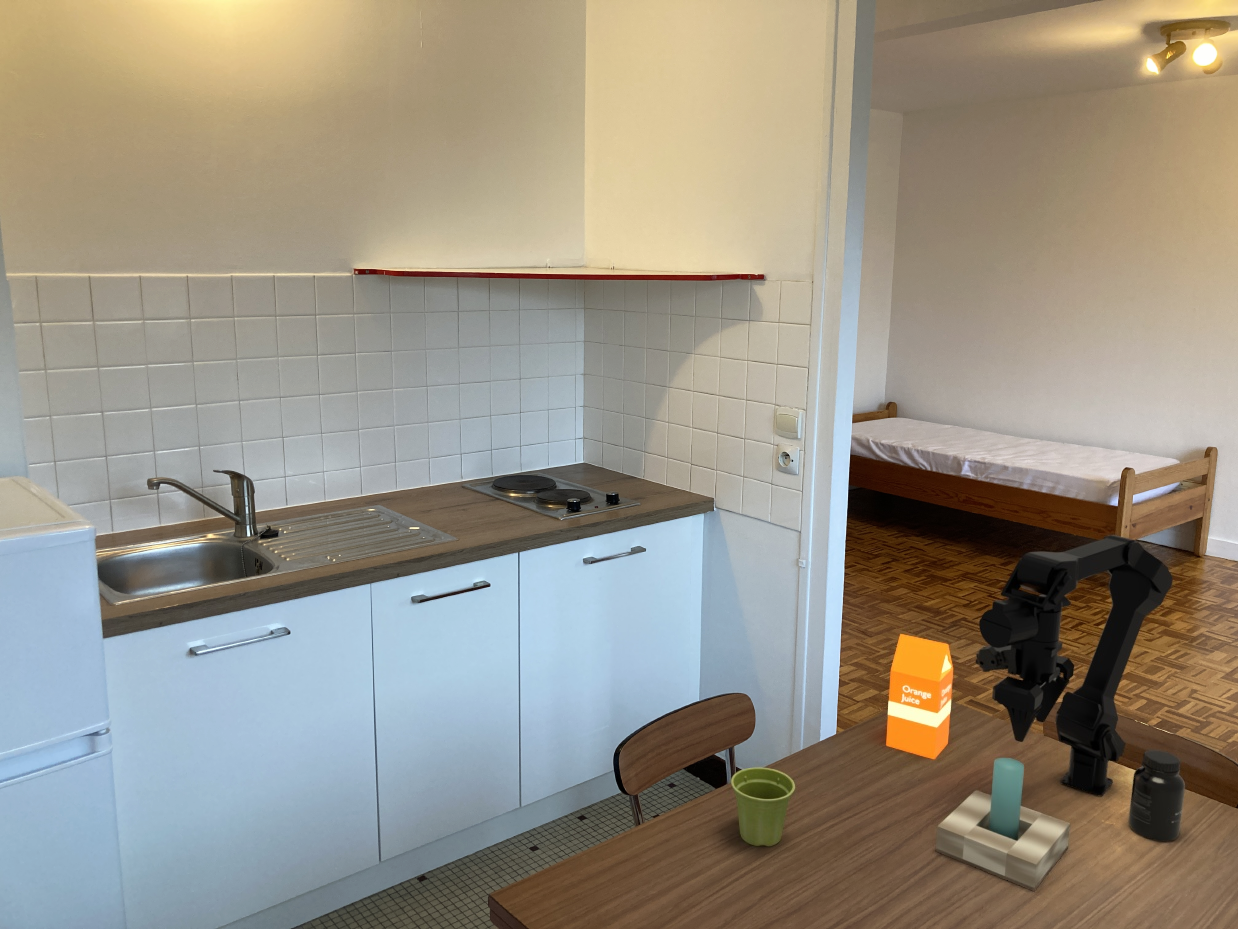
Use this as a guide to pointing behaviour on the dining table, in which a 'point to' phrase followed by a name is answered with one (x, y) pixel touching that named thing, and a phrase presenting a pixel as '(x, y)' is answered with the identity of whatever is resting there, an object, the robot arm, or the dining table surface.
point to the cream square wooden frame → (1003, 842)
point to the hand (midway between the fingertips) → (1029, 731)
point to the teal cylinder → (1006, 797)
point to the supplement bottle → (1157, 797)
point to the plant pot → (762, 804)
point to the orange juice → (920, 696)
